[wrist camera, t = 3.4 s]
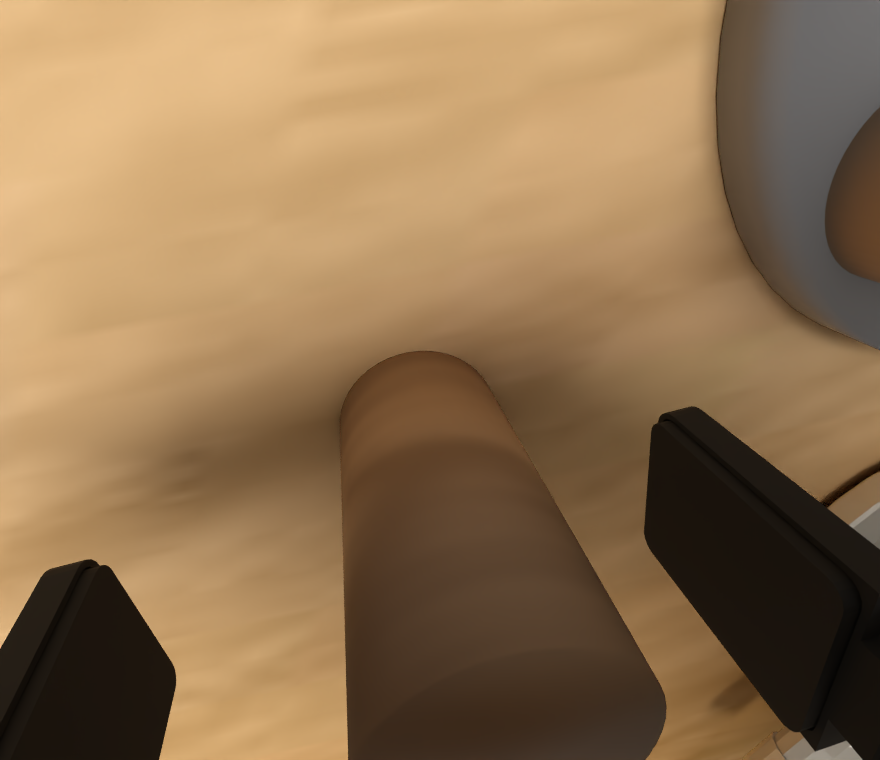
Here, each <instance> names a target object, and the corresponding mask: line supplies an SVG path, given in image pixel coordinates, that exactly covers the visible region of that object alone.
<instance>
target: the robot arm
mask: <svg viewBox="0 0 880 760" xmlns="http://www.w3.org/2000/svg"><path fill="white" fill-rule="evenodd" d="M644 535H645V539H646V542H647V545H648V547H649V549H650V550H651V552H652V553H653V554H654V556H655V557H656V558H657V560H658V561H659V562H660V564H661V565H662V566H663V568H664V569H665V570H666V572H667V573H668V574H669V575H670V577H671V578H672V579H673V581H674V582H675V583H676V585H677V586H678V587H679V589H680V590H681V591H682V592H683V594H684V595H685V596H686V598H687V599H688V600H689V602H690V603H691V604H692V606H693V607H694V608H695V610H696V611H697V612H698V613H699V615H700V616H701V617H702V619H703V620H704V621H705V623H706V624H707V625H708V627H709V628H710V629H711V631H712V632H713V633H714V634H715V636H716V637H717V638H718V640H719V641H720V642H721V644H722V645H723V646H724V648H725V649H726V650H727V651H728V653H729V654H730V655H731V657H732V658H733V659H734V661H735V662H736V663H737V665H738V666H739V667H740V669H741V670H742V671H743V672H744V674H745V675H746V676H747V678H748V679H749V680H750V682H751V683H752V684H753V686H754V687H755V688H756V689H757V691H758V692H759V693H760V695H761V696H762V697H763V699H764V700H765V701H766V703H767V704H768V705H769V707H770V708H771V709H772V710H773V712H774V713H775V714H776V716H777V717H778V718H779V720H780V721H781V722H782V723H783V724H784V725H785V727H784V728H783V729H781V730H780V731H779V732H772V733H771V734H770V735H769V736H768V737H767V738H765V739H764V740H763V741H762V742H761V743H760V744H758V745H757V746H756V747H755V748H754V749H752V750H751V751H750V752H749V753H748V754H747V755H745V756H744V757H743V758H742V760H880V471H878V472H877V473H875V474H873V475H871V476H869V477H868V478H866V479H865V480H863V481H862V482H860V483H859V484H858V485H856V486H855V487H853V488H852V489H851V490H849V491H848V492H846V493H845V494H844V495H842V496H841V497H839V498H838V499H836V500H835V501H834V502H833V503H832V504H831V505H830V506H828V507H827V508H826V507H825V506H824V505H823V504H821V503H820V502H819V501H817V500H816V499H815V498H814V497H812V496H811V495H810V494H808V493H807V492H806V491H805V490H803V489H802V488H801V487H799V486H798V485H797V484H796V483H794V482H793V481H792V480H791V479H789V478H788V477H787V476H785V475H784V474H783V473H782V472H780V471H779V470H778V469H776V468H775V467H774V466H773V465H771V464H770V463H769V462H767V461H766V460H765V459H764V458H762V457H761V456H760V455H759V454H757V453H756V452H755V451H753V450H752V449H751V448H750V447H748V446H747V445H746V444H744V443H743V442H742V441H741V440H739V439H738V438H737V437H735V436H734V435H733V434H732V433H730V432H729V431H728V430H726V429H725V428H724V427H723V426H721V425H720V424H719V423H718V422H716V421H715V420H714V419H712V418H711V417H710V416H709V415H707V414H706V413H705V412H703V411H702V410H701V409H699V408H697V407H692V406H691V407H688V408H684V409H680V410H676V411H672V412H668V413H664V414H662V415H661V416H660V418H659V421H658V424H655V425H654V426H653V427H652V431H651V443H650V457H649V471H648V485H647V499H646V512H645V526H644ZM175 687H176V673H175V669H174V666H173V664H172V662H171V660H170V659H169V657H168V656H167V654H166V653H165V651H164V650H163V648H162V647H161V645H160V643H159V642H158V640H157V639H156V637H155V636H154V634H153V633H152V631H151V630H150V628H149V626H148V625H147V623H146V622H145V620H144V619H143V617H142V616H141V614H140V613H139V611H138V609H137V608H136V606H135V605H134V603H133V602H132V600H131V599H130V597H129V596H128V594H127V592H126V591H125V589H124V588H123V586H122V585H121V583H120V582H119V580H118V579H117V577H116V575H115V574H114V572H113V571H112V570H111V568H110V567H109V566H106V565H102V566H100V565H99V564H98V563H97V562H96V561H94V560H92V559H90V560H83V561H79V562H76V563H72V564H68V565H64V566H60V567H56V568H52V569H49V570H48V571H46V572H45V573H44V574H43V576H42V577H41V578H40V580H39V582H38V583H37V585H36V587H35V589H34V591H33V592H32V594H31V596H30V598H29V599H28V601H27V603H26V605H25V606H24V608H23V610H22V612H21V613H20V615H19V617H18V619H17V620H16V622H15V624H14V626H13V627H12V629H11V631H10V633H9V634H8V636H7V638H6V640H5V641H4V643H3V645H2V647H1V649H0V760H159V757H160V753H161V749H162V744H163V740H164V736H165V731H166V727H167V723H168V718H169V714H170V710H171V705H172V701H173V697H174V692H175Z"/></svg>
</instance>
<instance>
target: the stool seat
mask: <svg viewBox="0 0 880 760" xmlns="http://www.w3.org/2000/svg"><path fill="white" fill-rule="evenodd" d="M717 122H718V148H719V154H720V161H721V167H722V173H723V180H724V186H725V192H726V195H727V199H728V202H729V205H730V208H731V212H732V215H733V218H734V222H735V225H736V228H737V231H738V233H739V235H740V237H741V239H742V241H743V243H744V245H745V247H746V249H747V251H748V254H749V256H750V258H751V260H752V262H753V263H754V264H755V266H756V267H757V269H758V270H759V271H760V273H761V274H762V276H763V277H764V278H765V280H766V281H767V282H768V284H769V285H770V287H771V288H772V289H773V290H774V291H775V292H776V293H777V294H779V295H780V296H781V297H782V298H783V299H784V300H785V301H786V302H787V303H788V304H789V305H790V306H791V307H792V308H794V309H795V310H797V311H798V312H800V313H802V314H803V315H805V316H806V317H808V318H810V319H811V320H813V321H814V322H816V323H818V324H820V325H822V326H825V327H827V328H829V329H832V330H834V331H836V332H839V333H841V334H843V335H846V336H848V337H850V338H853V339H855V340H857V341H860V342H862V343H864V344H867V345H869V346H871V347H874V348H876V349H878V350H880V0H728V1H727V6H726V12H725V18H724V23H723V29H722V35H721V45H720V58H719V71H718V84H717Z"/></svg>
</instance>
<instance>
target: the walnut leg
mask: <svg viewBox="0 0 880 760" xmlns="http://www.w3.org/2000/svg"><path fill="white" fill-rule="evenodd" d="M340 453H341V492H342V531H343V570H344V609H345V649H346V688H347V727H348V760H645V759H646V758H647V757H648V756H649V754H650V753H651V751H652V749H653V748H654V746H655V745H656V743H657V741H658V739H659V737H660V735H661V732H662V730H663V726H664V723H665V719H666V701H665V695H664V693H663V690H662V688H661V685H660V684H659V682H658V680H657V678H656V677H655V675H654V673H653V671H652V670H651V668H650V666H649V664H648V663H647V661H646V659H645V658H644V656H643V654H642V652H641V651H640V649H639V647H638V645H637V644H636V642H635V640H634V638H633V637H632V635H631V633H630V631H629V630H628V628H627V626H626V625H625V623H624V621H623V619H622V618H621V616H620V614H619V612H618V611H617V609H616V607H615V605H614V604H613V602H612V600H611V598H610V597H609V595H608V593H607V592H606V590H605V588H604V586H603V585H602V583H601V581H600V579H599V578H598V576H597V574H596V572H595V571H594V569H593V567H592V566H591V564H590V562H589V560H588V559H587V557H586V555H585V553H584V552H583V550H582V548H581V546H580V545H579V543H578V541H577V539H576V538H575V536H574V534H573V533H572V531H571V529H570V527H569V526H568V524H567V522H566V520H565V519H564V517H563V515H562V513H561V512H560V510H559V508H558V507H557V505H556V503H555V501H554V500H553V498H552V496H551V494H550V493H549V491H548V489H547V487H546V486H545V484H544V482H543V480H542V479H541V477H540V475H539V474H538V472H537V470H536V468H535V467H534V465H533V463H532V461H531V460H530V458H529V456H528V454H527V453H526V451H525V449H524V448H523V446H522V444H521V442H520V441H519V439H518V437H517V435H516V434H515V432H514V430H513V428H512V427H511V425H510V423H509V421H508V420H507V418H506V416H505V415H504V413H503V411H502V409H501V408H500V406H499V404H498V402H497V401H496V399H495V397H494V395H493V394H492V392H491V390H490V389H489V387H488V385H487V383H486V382H485V380H484V379H483V378H482V376H481V375H480V374H479V373H478V372H477V371H476V370H475V369H474V368H473V367H471V366H470V365H469V364H467V363H466V362H464V361H462V360H461V359H458V358H456V357H453V356H451V355H448V354H444V353H439V352H432V351H417V352H408V353H404V354H400V355H396V356H394V357H391V358H388V359H386V360H384V361H382V362H380V363H378V364H377V365H375V366H374V367H372V368H371V369H369V370H368V371H367V372H366V373H365V374H363V375H362V376H361V377H360V378H359V379H358V381H357V382H356V383H355V384H354V385H353V387H352V388H351V390H350V391H349V393H348V395H347V397H346V399H345V401H344V404H343V407H342V410H341V416H340Z"/></svg>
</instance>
